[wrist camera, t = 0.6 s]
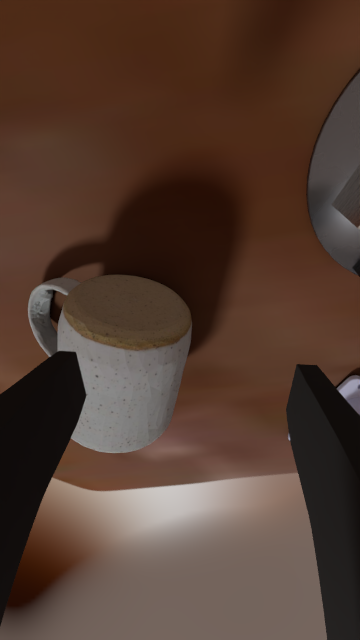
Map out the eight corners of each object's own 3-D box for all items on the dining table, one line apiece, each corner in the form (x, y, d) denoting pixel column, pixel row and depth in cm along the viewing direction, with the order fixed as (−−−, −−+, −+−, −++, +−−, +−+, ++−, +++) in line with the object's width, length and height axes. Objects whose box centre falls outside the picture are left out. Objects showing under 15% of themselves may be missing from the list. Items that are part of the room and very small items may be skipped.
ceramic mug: (202, 282, 20) (191, 363, 14) (178, 376, 25) (161, 470, 18) (35, 244, 20) (-55, 308, 14) (42, 345, 25) (-23, 429, 18)
